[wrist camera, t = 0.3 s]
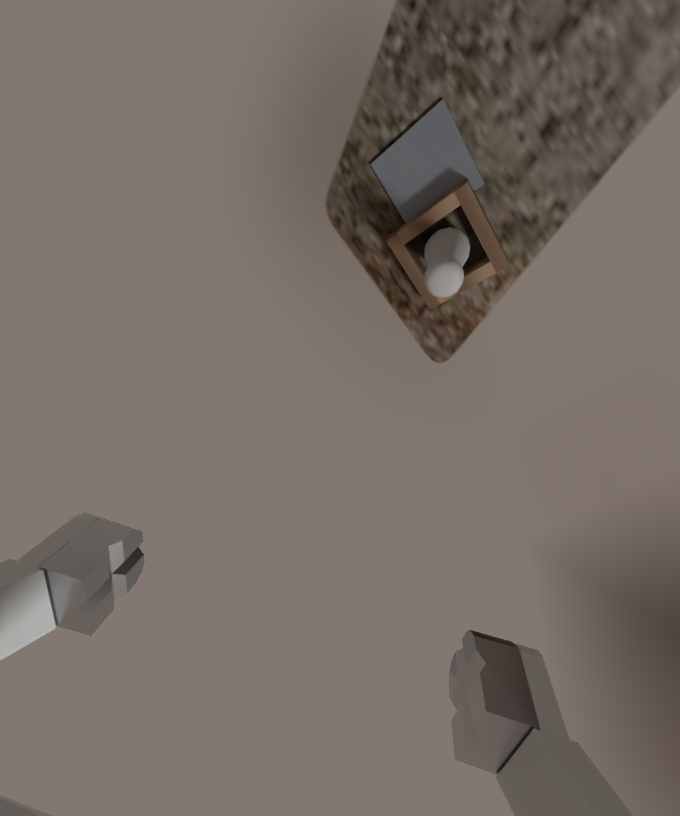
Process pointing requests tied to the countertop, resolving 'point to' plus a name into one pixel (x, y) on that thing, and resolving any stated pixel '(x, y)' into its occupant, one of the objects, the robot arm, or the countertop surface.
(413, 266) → the pocket frame
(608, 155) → the countertop surface
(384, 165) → the slate mat
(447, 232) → the salt shaker
